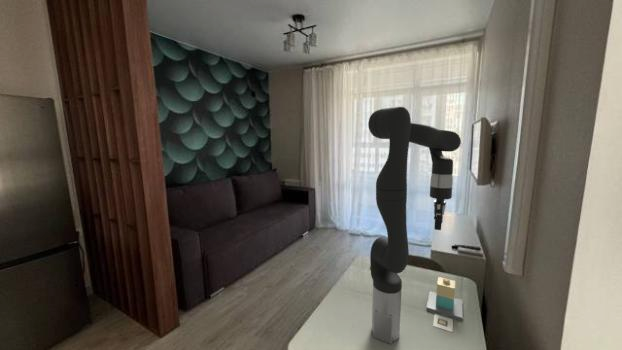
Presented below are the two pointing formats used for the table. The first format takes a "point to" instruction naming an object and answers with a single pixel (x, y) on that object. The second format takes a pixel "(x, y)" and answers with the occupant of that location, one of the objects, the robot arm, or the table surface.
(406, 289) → the table surface
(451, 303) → the teal brick
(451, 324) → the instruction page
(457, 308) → the plate
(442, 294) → the yellow knobbed block
